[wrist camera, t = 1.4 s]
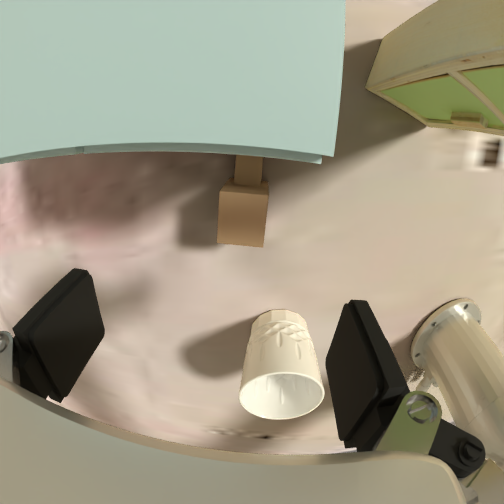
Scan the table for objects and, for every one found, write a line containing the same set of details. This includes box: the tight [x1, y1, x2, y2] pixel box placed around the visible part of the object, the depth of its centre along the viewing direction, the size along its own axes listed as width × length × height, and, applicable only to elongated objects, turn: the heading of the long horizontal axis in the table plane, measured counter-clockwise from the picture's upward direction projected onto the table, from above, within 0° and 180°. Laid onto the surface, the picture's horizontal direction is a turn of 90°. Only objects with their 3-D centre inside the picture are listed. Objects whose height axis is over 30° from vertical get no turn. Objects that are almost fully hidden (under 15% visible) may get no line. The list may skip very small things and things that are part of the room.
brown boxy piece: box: [217, 154, 269, 247], centre depth 21 cm, size 13×4×6 cm, turn 175°
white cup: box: [239, 309, 324, 420], centre depth 27 cm, size 8×8×10 cm
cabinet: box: [0, 0, 345, 164], centre depth 13 cm, size 11×16×18 cm
